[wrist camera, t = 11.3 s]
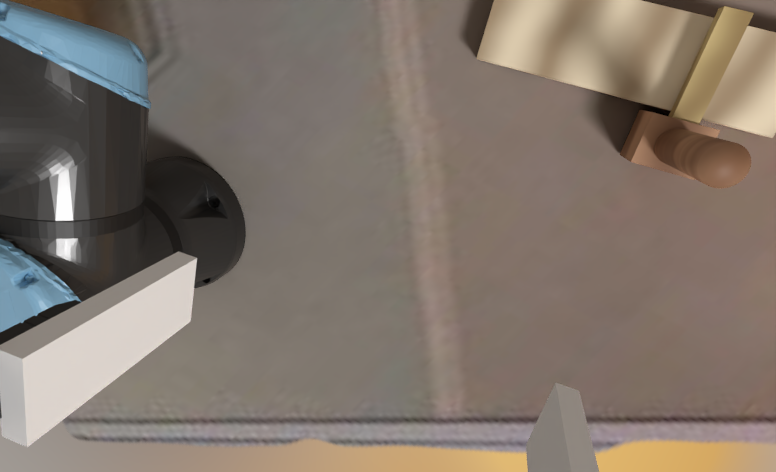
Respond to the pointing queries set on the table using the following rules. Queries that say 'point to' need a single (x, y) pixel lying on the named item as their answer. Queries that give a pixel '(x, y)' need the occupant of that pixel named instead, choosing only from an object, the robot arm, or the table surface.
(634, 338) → the table surface
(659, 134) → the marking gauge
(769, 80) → the board
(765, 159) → the table surface
